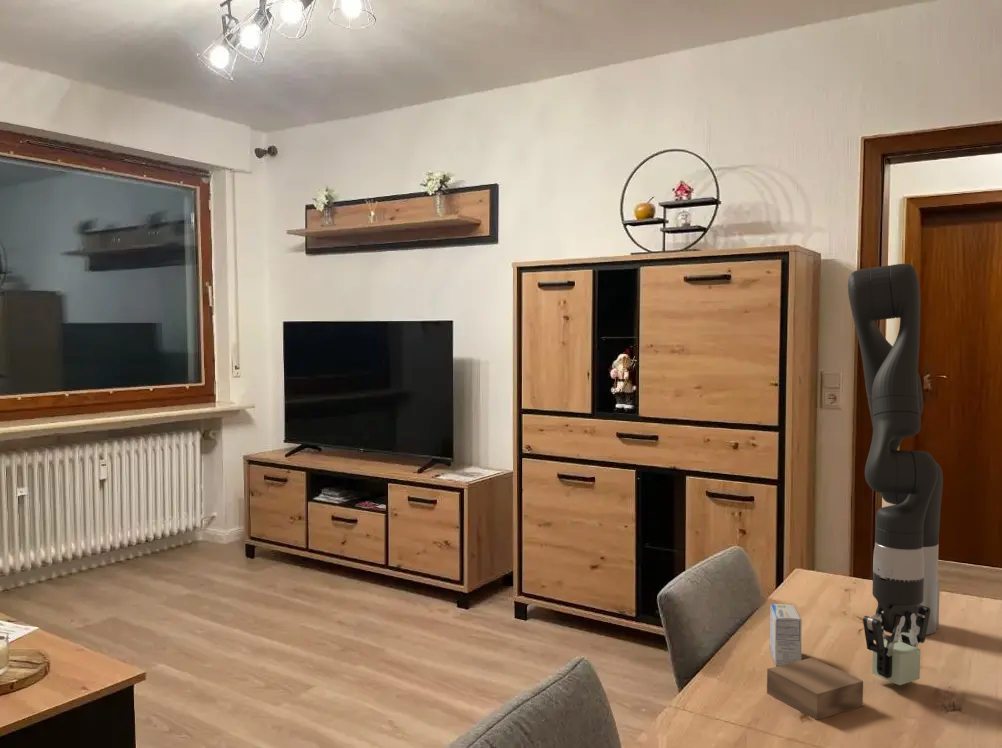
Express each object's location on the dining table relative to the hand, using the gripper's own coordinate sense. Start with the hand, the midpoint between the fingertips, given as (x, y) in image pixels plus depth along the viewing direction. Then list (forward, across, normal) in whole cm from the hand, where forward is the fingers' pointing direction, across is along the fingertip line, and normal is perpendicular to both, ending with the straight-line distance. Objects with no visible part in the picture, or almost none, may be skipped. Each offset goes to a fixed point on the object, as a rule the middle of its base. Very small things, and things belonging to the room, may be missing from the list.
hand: (895, 671), depth 132 cm
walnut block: (+2, +16, -2) cm, 17 cm away
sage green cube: (+1, 0, 0) cm, 1 cm away
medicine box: (+2, +8, -16) cm, 18 cm away
